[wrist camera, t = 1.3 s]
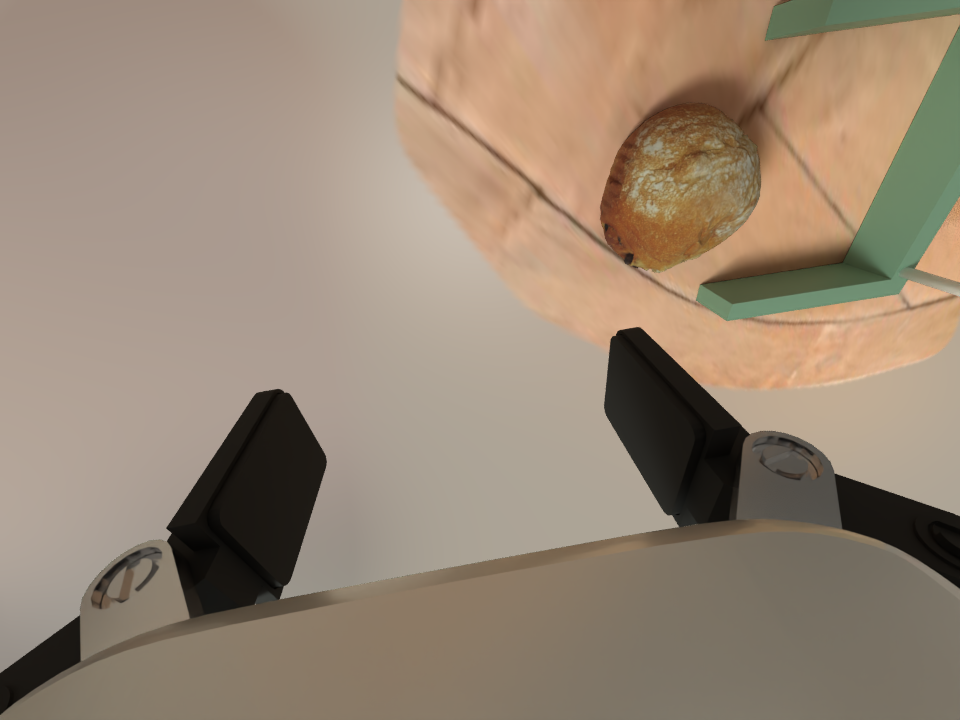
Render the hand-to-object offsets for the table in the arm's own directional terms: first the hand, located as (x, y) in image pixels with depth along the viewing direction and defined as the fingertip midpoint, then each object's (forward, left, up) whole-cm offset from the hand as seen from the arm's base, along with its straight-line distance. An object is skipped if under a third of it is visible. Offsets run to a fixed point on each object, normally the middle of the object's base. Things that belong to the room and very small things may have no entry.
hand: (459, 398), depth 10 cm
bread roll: (-1, +16, -19) cm, 25 cm away
